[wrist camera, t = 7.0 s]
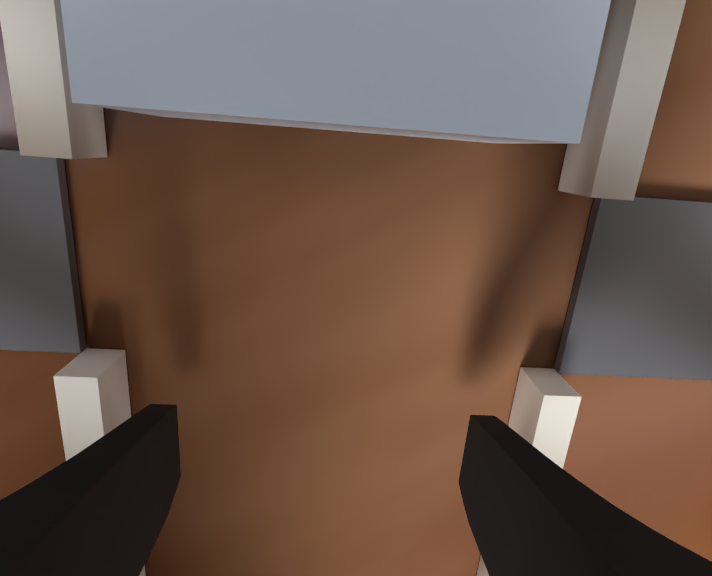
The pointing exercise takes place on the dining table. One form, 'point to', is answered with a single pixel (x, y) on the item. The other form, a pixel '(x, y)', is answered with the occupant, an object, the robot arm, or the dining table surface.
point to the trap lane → (579, 176)
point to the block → (345, 64)
